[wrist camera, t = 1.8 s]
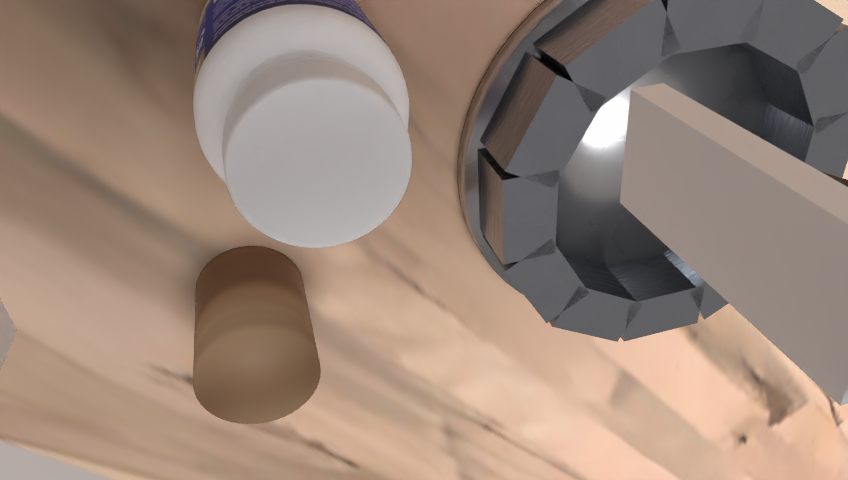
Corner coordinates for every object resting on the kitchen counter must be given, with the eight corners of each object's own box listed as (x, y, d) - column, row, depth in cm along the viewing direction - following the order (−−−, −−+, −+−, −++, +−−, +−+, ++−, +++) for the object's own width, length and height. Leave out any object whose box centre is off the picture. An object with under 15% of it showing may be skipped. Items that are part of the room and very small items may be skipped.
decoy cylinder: (183, 258, 24) (178, 346, 20) (293, 236, 25) (310, 317, 21) (209, 341, 26) (210, 436, 22) (310, 319, 27) (328, 406, 23)
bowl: (447, -25, 21) (483, 0, 18) (845, -80, 24) (931, -65, 21) (465, 329, 29) (492, 383, 27) (758, 258, 32) (811, 301, 29)
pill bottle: (163, -3, 19) (133, 105, 12) (328, -70, 20) (396, -4, 12) (245, 149, 22) (261, 307, 15) (387, 89, 23) (469, 217, 15)
